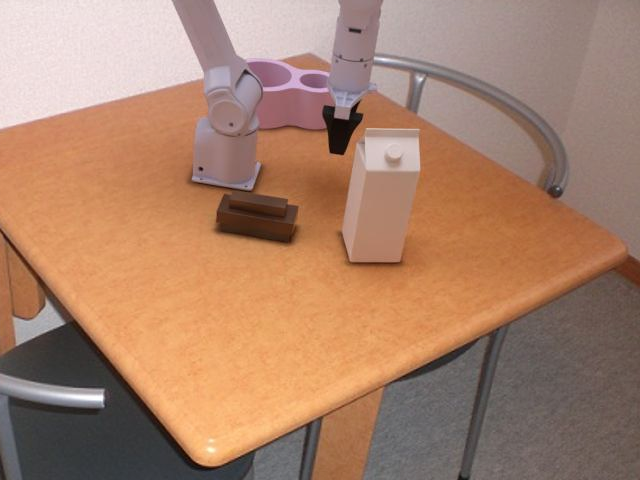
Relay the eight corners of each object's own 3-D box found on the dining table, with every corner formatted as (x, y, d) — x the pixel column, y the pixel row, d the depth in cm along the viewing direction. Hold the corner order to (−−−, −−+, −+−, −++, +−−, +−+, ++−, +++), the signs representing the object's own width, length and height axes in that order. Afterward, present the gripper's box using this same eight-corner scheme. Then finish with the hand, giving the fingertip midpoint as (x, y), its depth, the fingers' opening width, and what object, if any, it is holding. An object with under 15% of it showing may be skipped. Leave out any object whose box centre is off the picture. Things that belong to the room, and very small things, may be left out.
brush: (215, 231, 126) (217, 201, 123) (222, 213, 130) (224, 183, 127) (291, 244, 125) (294, 214, 122) (296, 225, 129) (300, 196, 125)
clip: (334, 103, 158) (340, 67, 154) (329, 137, 149) (334, 100, 144) (225, 89, 160) (226, 53, 155) (212, 122, 150) (214, 84, 146)
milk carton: (341, 233, 128) (360, 115, 116) (389, 233, 129) (413, 115, 116) (349, 263, 122) (371, 142, 110) (399, 263, 123) (426, 143, 111)
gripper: (378, 80, 115) (362, 169, 124) (386, 36, 126) (371, 121, 135) (324, 72, 116) (312, 161, 124) (337, 28, 127) (325, 114, 135)
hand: (339, 140), depth 130 cm, fingers open, 7 cm apart
